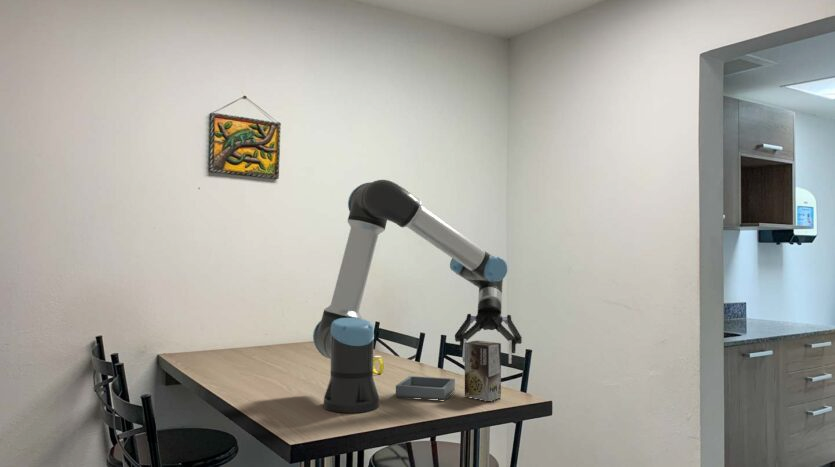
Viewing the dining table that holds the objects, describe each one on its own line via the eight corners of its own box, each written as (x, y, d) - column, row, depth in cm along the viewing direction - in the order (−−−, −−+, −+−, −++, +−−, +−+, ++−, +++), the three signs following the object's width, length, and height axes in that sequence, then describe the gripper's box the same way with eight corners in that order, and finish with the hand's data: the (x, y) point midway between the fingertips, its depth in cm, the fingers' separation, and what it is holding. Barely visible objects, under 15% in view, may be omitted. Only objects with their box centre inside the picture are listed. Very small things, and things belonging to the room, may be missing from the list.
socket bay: (444, 401, 174) (444, 389, 174) (395, 397, 178) (395, 385, 178) (454, 390, 188) (454, 378, 188) (409, 387, 192) (409, 375, 192)
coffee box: (501, 398, 178) (502, 343, 178) (488, 402, 173) (488, 345, 174) (476, 393, 184) (477, 339, 185) (463, 397, 179) (463, 341, 180)
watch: (385, 374, 212) (385, 357, 212) (378, 375, 210) (379, 358, 210) (375, 370, 217) (376, 354, 217) (368, 371, 215) (369, 354, 215)
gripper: (529, 313, 197) (529, 369, 182) (452, 311, 201) (446, 365, 186) (529, 298, 192) (529, 354, 177) (450, 296, 196) (443, 351, 181)
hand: (486, 360), depth 182 cm, fingers open, 13 cm apart
